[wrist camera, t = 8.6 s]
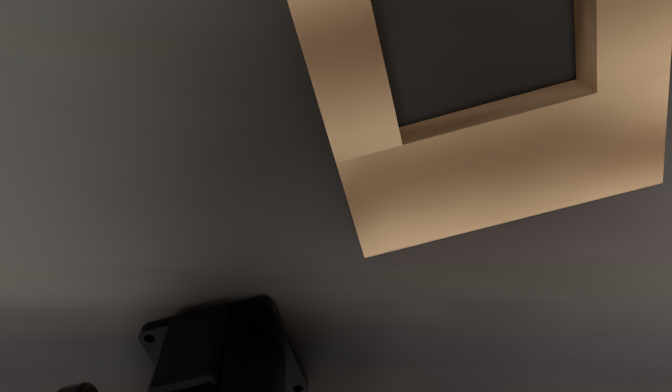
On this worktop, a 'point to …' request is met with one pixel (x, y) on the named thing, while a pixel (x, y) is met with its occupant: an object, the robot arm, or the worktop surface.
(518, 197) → the pocket board
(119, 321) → the worktop surface
